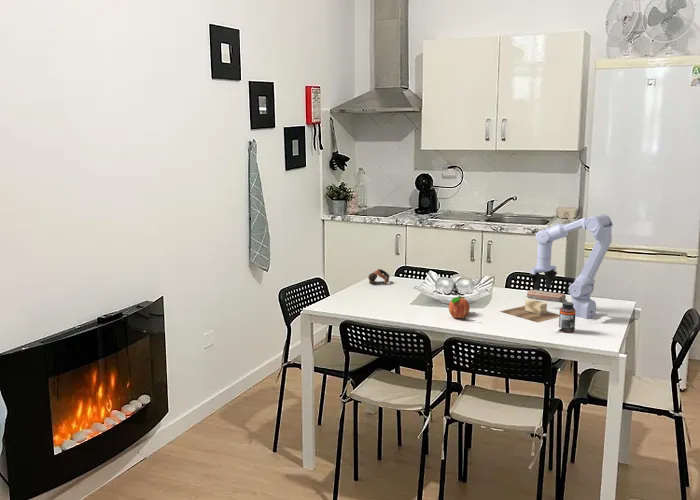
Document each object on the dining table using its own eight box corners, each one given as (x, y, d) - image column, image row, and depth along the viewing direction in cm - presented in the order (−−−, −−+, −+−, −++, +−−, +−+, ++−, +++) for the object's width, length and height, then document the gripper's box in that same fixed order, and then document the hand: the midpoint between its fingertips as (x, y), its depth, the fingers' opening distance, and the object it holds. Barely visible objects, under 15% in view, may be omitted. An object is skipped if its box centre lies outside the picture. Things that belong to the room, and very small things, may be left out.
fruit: (473, 317, 291) (474, 294, 289) (461, 322, 284) (461, 298, 282) (456, 313, 296) (456, 290, 295) (443, 318, 289) (444, 294, 288)
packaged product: (568, 292, 314) (561, 297, 306) (567, 303, 315) (560, 308, 307) (529, 287, 324) (521, 291, 316) (528, 297, 325) (521, 302, 317)
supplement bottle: (563, 327, 276) (564, 300, 274) (577, 330, 272) (579, 302, 270) (555, 331, 272) (557, 302, 270) (570, 334, 268) (571, 305, 266)
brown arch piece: (374, 281, 358) (382, 268, 356) (386, 292, 353) (394, 278, 351) (360, 279, 349) (368, 265, 347) (372, 290, 344) (381, 276, 342)
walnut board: (562, 319, 287) (562, 315, 287) (537, 326, 278) (537, 322, 278) (524, 308, 303) (524, 305, 303) (499, 314, 294) (499, 311, 294)
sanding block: (546, 313, 290) (547, 303, 289) (540, 315, 288) (540, 304, 287) (531, 309, 297) (531, 299, 296) (524, 311, 294) (525, 300, 294)
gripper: (547, 254, 305) (545, 284, 308) (525, 258, 297) (524, 289, 300) (560, 256, 300) (559, 287, 302) (538, 260, 291) (537, 292, 294)
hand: (542, 288), depth 301 cm, fingers open, 7 cm apart
